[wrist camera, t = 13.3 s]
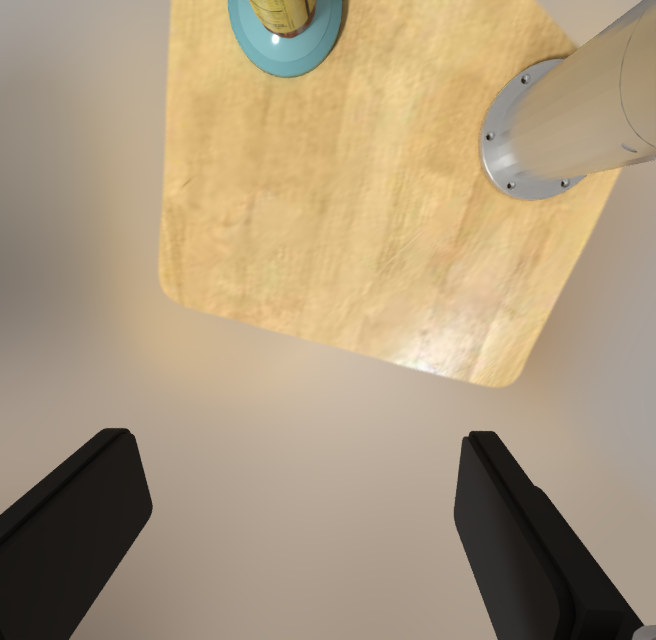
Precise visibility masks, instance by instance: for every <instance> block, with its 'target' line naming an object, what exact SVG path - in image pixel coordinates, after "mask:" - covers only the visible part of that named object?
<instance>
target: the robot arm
mask: <svg viewBox="0 0 656 640" xmlns="http://www.w3.org/2000/svg"><path fill="white" fill-rule="evenodd" d="M521 81H523V83H522V82H521ZM486 136H488V137H489V140H487V139H486ZM479 157H480V162H481V166H482V168H483V171H484V173H485V175H486V177H487V178H488V180H489V181H490V183H491V184H492V185H493V186H494V187H495V188H496V189H497V190H499V191H500V192H501V193H503V194H505V195H507V196H509V197H511V198H515V199H518V200H528V201H532V200H541V199H546V198H550V197H554V196H556V195H559V194H561V193H563V192H565V191H567V190H569V189H570V188H572V187H573V186H575V185H576V184H577V183H579V182H580V181H581V180H582V179H583V178H584V177H586V176H587V174H592V173H597V172H602V171H606V170H611V169H616V168H620V167H625V166H630V165H634V164H639V163H644V162H649V161H653V160H656V0H643V1H641V2H640V3H639V4H637V5H636V6H635V7H633V8H632V9H631V10H629V11H628V12H627V13H625V14H624V15H623V16H621V17H620V18H619V19H617V20H616V21H615V22H613V23H612V24H611V25H610V26H608V27H607V28H606V29H604V30H603V31H602V32H600V33H599V34H598V35H596V36H595V37H594V38H593V39H591V40H590V41H588V42H587V43H586V44H585V45H583V46H582V47H581V48H579V49H578V50H577V51H575V52H574V53H573V54H571V55H570V56H569V57H567V58H566V59H553V60H547V61H543V62H540V63H538V64H535V65H533V66H531V67H529V68H527V69H526V70H524V71H522V72H521V73H519V74H518V75H517V76H515V77H514V78H513V79H512V80H511V81H509V82H508V83H507V84H506V85H505V87H504V88H503V89H502V90H501V91H500V92H499V93H498V94H497V96H496V97H495V98H494V100H493V101H492V103H491V104H490V106H489V108H488V110H487V112H486V114H485V116H484V120H483V123H482V126H481V129H480V136H479ZM561 183H562V185H561ZM508 184H509V188H507V185H508ZM152 507H153V505H152V501H151V497H150V493H149V489H148V485H147V481H146V478H145V474H144V470H143V466H142V462H141V458H140V454H139V450H138V446H137V443H136V439H135V436H134V435H133V434H131V433H130V431H129V430H128V429H126V428H106V429H103V430H101V431H100V432H99V433H97V434H96V435H95V436H94V437H93V438H92V439H90V440H89V441H88V442H87V443H85V444H84V445H83V446H82V447H81V448H79V449H78V450H77V451H76V452H75V453H74V454H72V455H71V456H70V457H69V458H68V459H66V460H65V461H64V462H63V463H62V464H60V465H59V466H58V467H57V468H56V469H54V470H53V471H52V472H51V473H50V474H48V475H47V476H46V477H45V478H44V479H43V480H41V481H40V482H39V483H38V484H37V485H35V486H34V487H33V488H32V489H31V490H29V491H28V492H27V493H26V494H25V495H23V496H22V497H21V498H20V499H19V500H17V501H16V502H15V503H14V504H13V505H12V506H10V507H9V508H8V509H7V510H6V511H4V512H3V513H2V514H1V515H0V640H69V638H70V637H71V635H72V634H73V632H74V631H75V629H76V628H77V626H78V625H79V623H80V622H81V620H82V619H83V617H84V616H85V614H86V613H87V611H88V610H89V608H90V607H91V605H92V604H93V602H94V601H95V599H96V598H97V596H98V595H99V593H100V592H101V590H102V589H103V587H104V586H105V584H106V583H107V581H108V580H109V578H110V577H111V575H112V574H113V572H114V571H115V569H116V568H117V566H118V565H119V563H120V562H121V560H122V559H123V557H124V556H125V554H126V553H127V551H128V550H129V548H130V547H131V545H132V544H133V542H134V541H135V539H136V538H137V536H138V535H139V533H140V532H141V530H142V529H143V527H144V526H145V524H146V523H147V521H148V520H149V518H150V516H151V513H152ZM454 520H455V524H456V527H457V531H458V533H459V536H460V539H461V541H462V544H463V547H464V549H465V552H466V555H467V558H468V560H469V563H470V566H471V568H472V571H473V574H474V577H475V579H476V582H477V585H478V587H479V590H480V593H481V595H482V598H483V600H484V603H485V606H486V609H487V611H488V614H489V617H490V619H491V622H492V625H493V628H494V630H495V633H496V636H497V639H498V640H656V625H651V626H644V624H643V623H642V622H641V620H640V619H639V618H638V616H637V615H636V614H635V612H634V611H633V610H632V608H631V607H630V606H629V604H628V603H627V602H626V600H625V599H624V598H623V596H622V595H621V594H620V592H619V591H618V590H617V588H616V587H615V586H614V584H613V583H612V582H611V580H610V579H609V578H608V576H607V575H606V574H605V572H604V571H603V570H602V568H601V567H600V566H599V564H598V563H597V562H596V560H595V559H594V558H593V556H592V555H591V554H590V552H589V551H588V550H587V548H586V547H585V546H584V545H583V543H582V542H581V540H580V539H579V538H578V536H577V535H576V534H575V532H574V531H573V530H572V529H571V527H570V526H569V525H568V523H567V522H566V520H565V519H564V518H563V516H562V515H561V514H560V513H559V511H558V510H557V508H556V507H555V506H554V504H553V503H552V502H551V500H550V499H549V498H548V496H547V495H546V494H545V493H544V492H543V491H542V490H541V489H540V488H538V487H537V486H534V485H533V483H532V482H531V480H530V479H529V478H528V476H527V475H526V474H525V472H524V471H523V470H522V468H521V467H520V465H519V464H518V463H517V461H516V460H515V458H514V457H513V456H512V454H511V453H510V452H509V450H508V449H507V448H506V446H505V445H504V443H503V442H502V441H501V439H500V438H499V437H498V435H497V434H496V433H495V432H493V431H471V432H470V433H469V436H468V437H464V438H463V440H462V447H461V456H460V464H459V472H458V482H457V489H456V497H455V506H454Z"/></svg>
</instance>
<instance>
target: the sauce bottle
mask: <svg viewBox="0 0 656 640" xmlns="http://www.w3.org/2000/svg"><path fill="white" fill-rule="evenodd" d="M316 1H317V0H249V2H250V4H251V6H252V9H253V11H254V13H255V14H256V16H257V17H258V19H259V20H260V21H261V23H262V24H263V25H264V27H265V28H266V29H267V30H268V31H269V32H271V33H273V34H274V35H277V36H279V37H282V38H288V39H289V38H293V37H295V36H297V35H299V34H300V33H301V32H303V31H304V30H305V29H306V28H307V26H309V24H310V23H311V22H312V19H313V17H314V14H315V10H316Z"/></svg>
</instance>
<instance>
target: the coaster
mask: <svg viewBox="0 0 656 640" xmlns="http://www.w3.org/2000/svg"><path fill="white" fill-rule="evenodd" d="M228 10H229V17H230V22H231V25H232V29H233V32H234V34H235V37H236V39H237V41H238V43H239V45H240V46H241V48H242V50H243V51H244V53H245V54H246V56H247V57H248V58H249V59H250V60H251V62H252V63H253V64H255V65H256V66H257V67H258V68H259V69H261V70H262V71H264V72H266V73H268V74H270V75H273V76H276V77H281V78H293V77H298V76H302V75H304V74H306V73H309V72H310V71H312V70H313V69H315V68H316V67H317V66H319V65H320V64H321V63H322V62H323V61H324V59H325V58H326V57H327V56H328V54H329V53H330V51H331V50H332V48H333V46H334V44H335V41H336V39H337V36H338V33H339V29H340V25H341V18H342V0H317V1H316V10H315V14H314V17H313V19H312V22H311V23H310V24H309V26H307V28H306V29H305V30H304V31H303V32H301V33H300V34H299V35H297V36H295V37H293V38H289V39H288V38H282V37H279V36H277V35H274V34H273V33H271V32H269V31H268V30H267V29H266V28H265V27H264V25H263V24H262V23H261V21H260V20H259V19H258V17H257V16H256V14H255V13H254V11H253V9H252V6H251V4H250V2H249V0H228Z"/></svg>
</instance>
